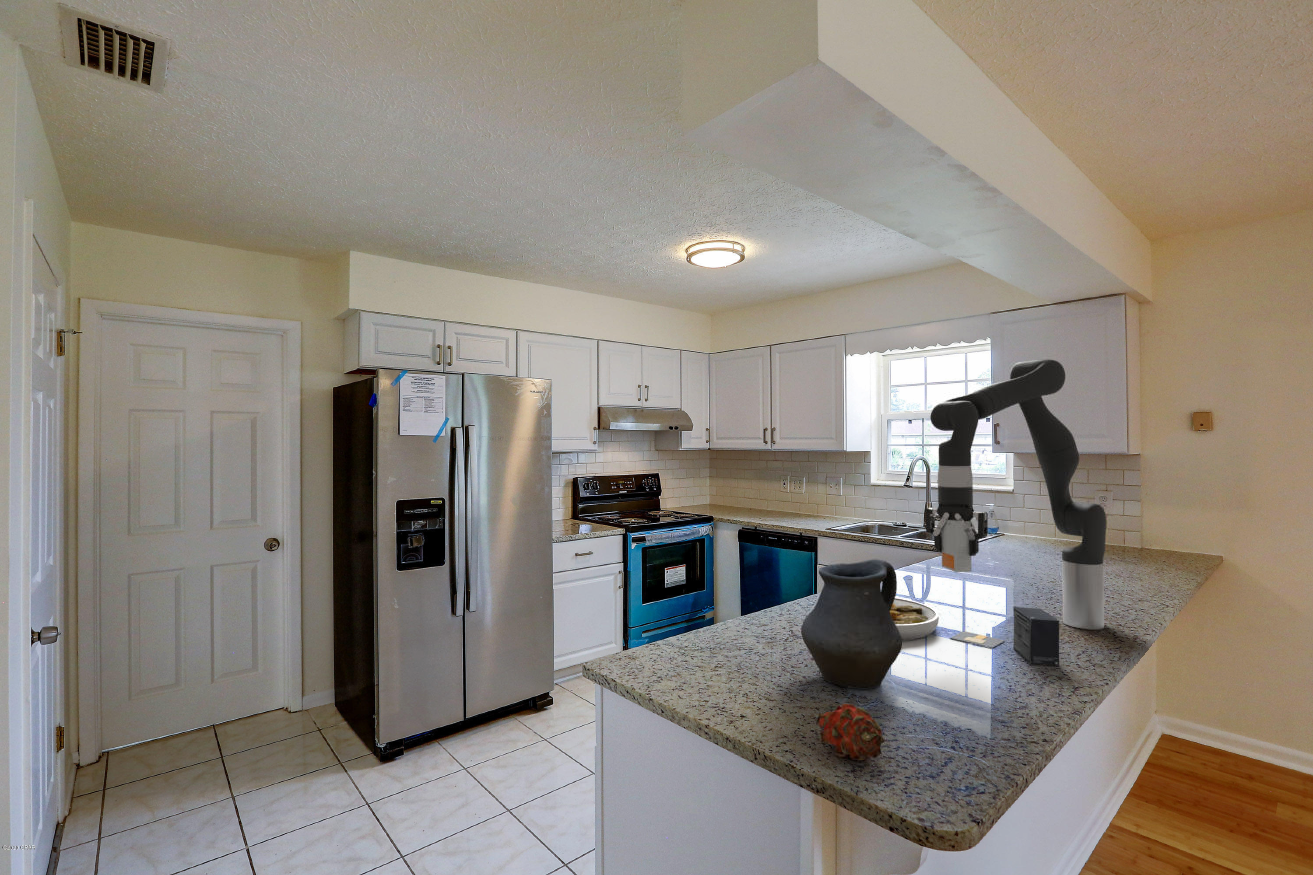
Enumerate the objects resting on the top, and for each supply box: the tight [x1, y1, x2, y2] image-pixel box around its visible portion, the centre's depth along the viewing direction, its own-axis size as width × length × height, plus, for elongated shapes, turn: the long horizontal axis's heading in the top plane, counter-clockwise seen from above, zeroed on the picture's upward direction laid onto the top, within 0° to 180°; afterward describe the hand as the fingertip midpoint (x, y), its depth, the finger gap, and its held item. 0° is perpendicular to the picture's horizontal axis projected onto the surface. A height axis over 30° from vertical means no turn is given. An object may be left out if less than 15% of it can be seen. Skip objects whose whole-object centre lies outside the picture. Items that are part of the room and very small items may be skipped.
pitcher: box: [800, 558, 904, 690], centre depth 130 cm, size 21×22×25 cm
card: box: [950, 631, 1006, 649], centre depth 155 cm, size 8×10×1 cm
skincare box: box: [941, 520, 972, 573], centre depth 147 cm, size 6×4×12 cm
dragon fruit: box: [815, 702, 886, 762], centre depth 99 cm, size 8×8×12 cm
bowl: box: [890, 597, 940, 641], centre depth 167 cm, size 30×30×8 cm
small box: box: [1012, 606, 1060, 667], centre depth 142 cm, size 11×6×10 cm, turn 168°
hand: (956, 553), depth 147 cm, fingers closed on skincare box, 7 cm apart
